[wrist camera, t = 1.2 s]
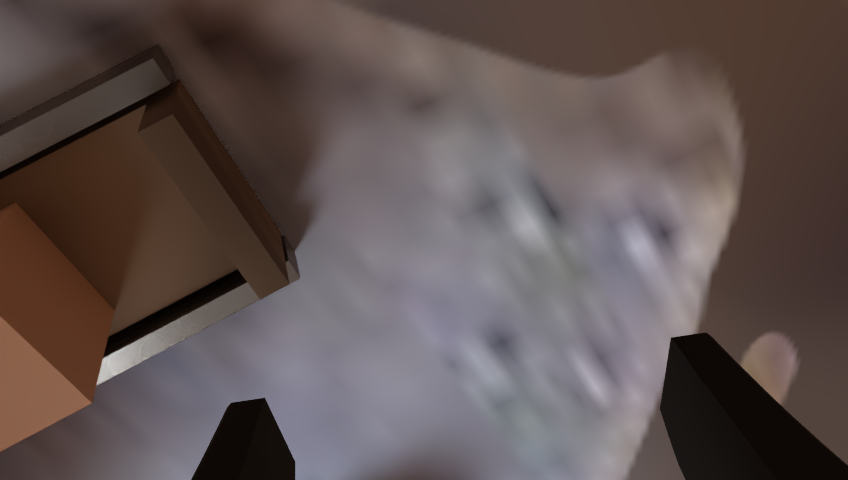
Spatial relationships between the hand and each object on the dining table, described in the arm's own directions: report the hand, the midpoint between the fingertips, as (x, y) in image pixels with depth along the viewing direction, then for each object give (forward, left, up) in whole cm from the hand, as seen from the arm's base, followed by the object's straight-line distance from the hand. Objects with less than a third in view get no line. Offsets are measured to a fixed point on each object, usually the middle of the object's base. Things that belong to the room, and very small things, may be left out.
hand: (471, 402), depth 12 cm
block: (-11, +2, -11) cm, 16 cm away
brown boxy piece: (-11, +2, -12) cm, 17 cm away
